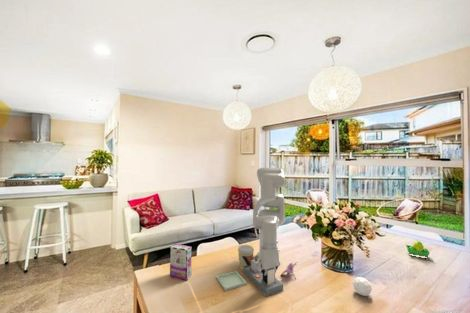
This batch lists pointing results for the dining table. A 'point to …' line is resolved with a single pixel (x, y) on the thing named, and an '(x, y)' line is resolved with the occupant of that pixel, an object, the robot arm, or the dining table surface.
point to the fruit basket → (418, 249)
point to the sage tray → (231, 280)
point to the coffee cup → (245, 256)
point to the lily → (289, 269)
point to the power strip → (258, 281)
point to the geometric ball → (362, 286)
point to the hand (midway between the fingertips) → (268, 280)
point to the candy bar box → (180, 261)
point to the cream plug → (270, 276)
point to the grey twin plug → (254, 265)
